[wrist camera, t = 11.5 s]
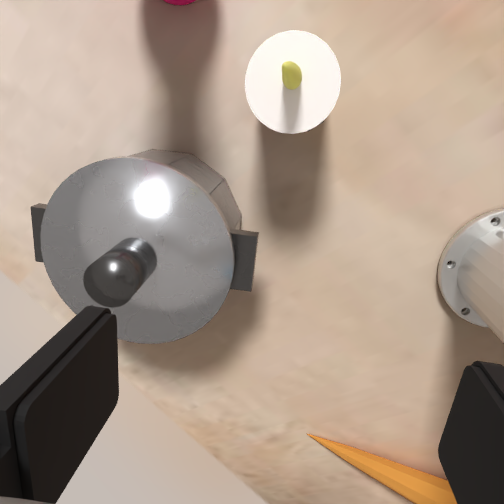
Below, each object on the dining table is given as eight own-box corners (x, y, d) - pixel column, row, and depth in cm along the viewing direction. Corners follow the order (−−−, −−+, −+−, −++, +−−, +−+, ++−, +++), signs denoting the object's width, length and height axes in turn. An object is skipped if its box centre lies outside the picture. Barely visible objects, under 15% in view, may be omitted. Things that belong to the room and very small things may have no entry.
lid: (242, 162, 31) (227, 178, 24) (232, 337, 37) (218, 392, 30) (47, 146, 32) (-21, 157, 25) (66, 319, 38) (14, 367, 31)
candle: (282, 142, 38) (275, 162, 23) (244, 79, 36) (213, 61, 22) (341, 103, 36) (372, 100, 22) (305, 36, 34) (313, -14, 20)
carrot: (455, 479, 50) (474, 498, 46) (441, 512, 50) (459, 535, 45) (311, 410, 51) (315, 423, 47) (296, 442, 51) (300, 458, 47)
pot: (270, 163, 38) (263, 179, 30) (253, 299, 43) (244, 345, 35) (76, 140, 39) (17, 148, 31) (83, 275, 45) (34, 314, 36)
